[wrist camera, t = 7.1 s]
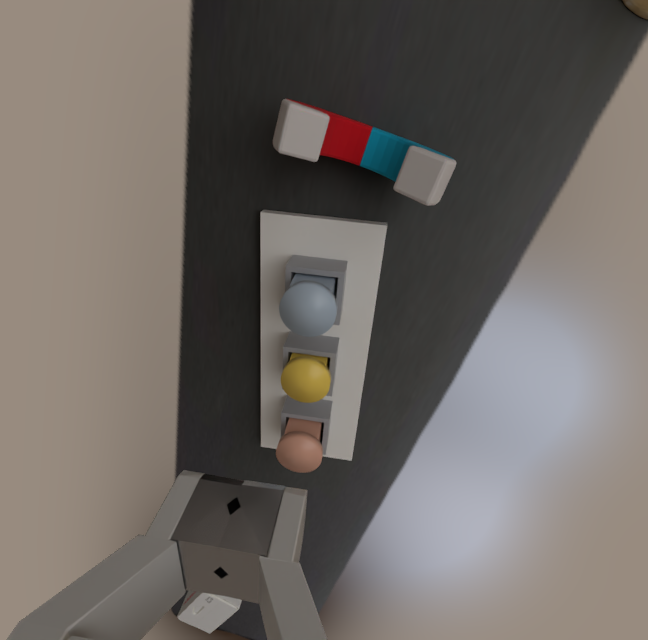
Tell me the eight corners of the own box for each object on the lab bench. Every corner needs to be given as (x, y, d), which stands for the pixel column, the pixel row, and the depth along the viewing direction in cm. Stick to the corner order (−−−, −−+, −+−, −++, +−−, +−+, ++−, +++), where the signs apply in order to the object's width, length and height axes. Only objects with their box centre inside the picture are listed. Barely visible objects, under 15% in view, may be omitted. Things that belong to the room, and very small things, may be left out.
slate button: (291, 262, 34) (279, 281, 30) (343, 268, 34) (338, 288, 30) (289, 309, 36) (278, 333, 32) (338, 315, 36) (333, 340, 32)
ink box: (241, 544, 59) (211, 637, 48) (211, 529, 58) (174, 620, 48) (268, 516, 55) (242, 610, 44) (237, 500, 54) (203, 591, 44)
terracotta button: (286, 404, 42) (276, 435, 38) (329, 411, 41) (323, 442, 37) (285, 436, 44) (275, 468, 40) (325, 443, 44) (320, 475, 40)
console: (263, 209, 35) (250, 220, 31) (387, 222, 34) (387, 235, 31) (263, 440, 48) (253, 466, 45) (352, 454, 47) (349, 481, 44)
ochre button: (291, 334, 39) (281, 358, 35) (337, 340, 39) (331, 365, 35) (289, 371, 41) (280, 398, 37) (333, 377, 41) (327, 406, 37)
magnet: (443, 152, 31) (467, 166, 22) (428, 186, 32) (445, 213, 24) (302, 101, 31) (270, 95, 22) (293, 138, 32) (259, 146, 23)
